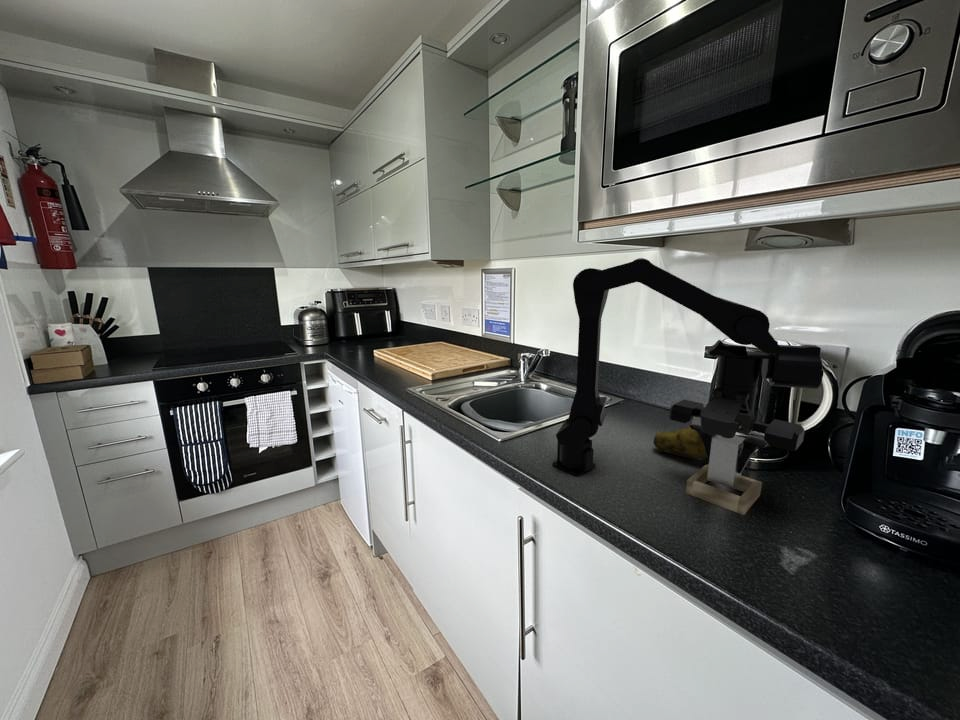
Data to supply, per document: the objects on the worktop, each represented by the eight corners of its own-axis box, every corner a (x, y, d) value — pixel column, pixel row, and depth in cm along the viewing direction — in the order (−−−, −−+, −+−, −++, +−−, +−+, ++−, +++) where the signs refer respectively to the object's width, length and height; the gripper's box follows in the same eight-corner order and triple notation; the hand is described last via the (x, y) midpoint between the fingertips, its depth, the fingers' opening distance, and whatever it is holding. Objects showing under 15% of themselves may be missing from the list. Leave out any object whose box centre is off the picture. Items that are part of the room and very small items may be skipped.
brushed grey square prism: (706, 479, 68) (712, 437, 67) (715, 472, 71) (720, 431, 69) (732, 488, 65) (738, 445, 64) (740, 480, 68) (746, 438, 66)
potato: (673, 443, 90) (676, 410, 88) (728, 466, 79) (733, 429, 77) (647, 450, 86) (650, 416, 85) (702, 475, 75) (706, 437, 73)
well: (685, 493, 69) (687, 480, 69) (705, 476, 75) (706, 464, 74) (744, 515, 62) (745, 501, 62) (760, 494, 68) (762, 482, 68)
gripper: (658, 380, 66) (651, 463, 69) (795, 406, 52) (778, 509, 56) (685, 370, 73) (677, 446, 77) (812, 390, 59) (796, 482, 63)
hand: (725, 468), depth 68 cm, fingers closed on brushed grey square prism, 4 cm apart
